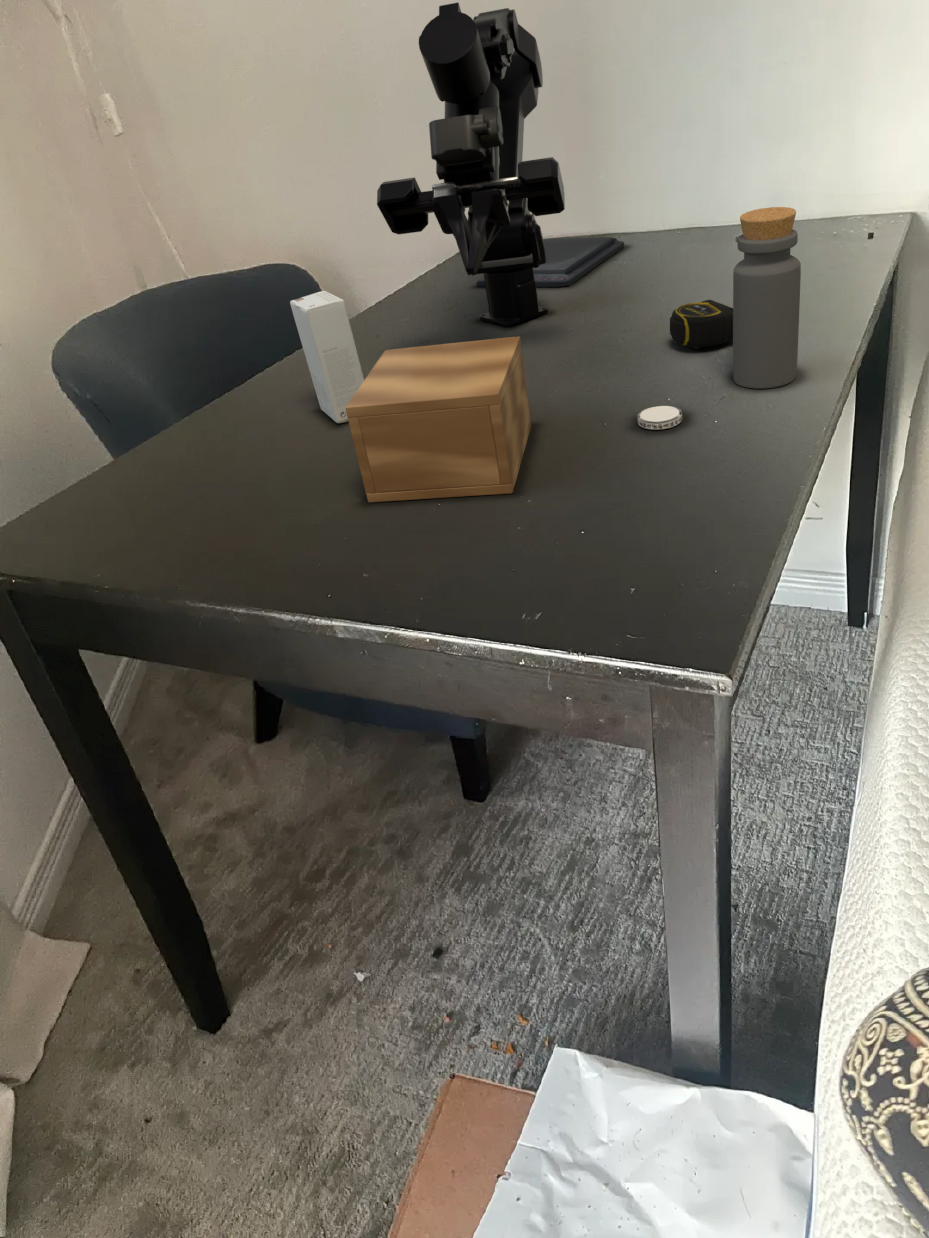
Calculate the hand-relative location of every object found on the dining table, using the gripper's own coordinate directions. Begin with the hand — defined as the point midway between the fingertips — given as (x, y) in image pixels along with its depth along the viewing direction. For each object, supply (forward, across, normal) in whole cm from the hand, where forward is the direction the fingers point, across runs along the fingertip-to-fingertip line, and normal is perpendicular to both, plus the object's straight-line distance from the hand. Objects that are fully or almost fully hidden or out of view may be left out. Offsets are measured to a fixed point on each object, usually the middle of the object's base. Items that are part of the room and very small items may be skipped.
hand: (470, 272), depth 95 cm
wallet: (-23, +3, +40) cm, 47 cm away
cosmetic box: (+12, -15, +5) cm, 20 cm away
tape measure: (+4, +23, +13) cm, 27 cm away
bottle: (+12, +28, +4) cm, 31 cm away
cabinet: (+22, 0, -6) cm, 23 cm away
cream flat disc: (+18, +18, -2) cm, 26 cm away
